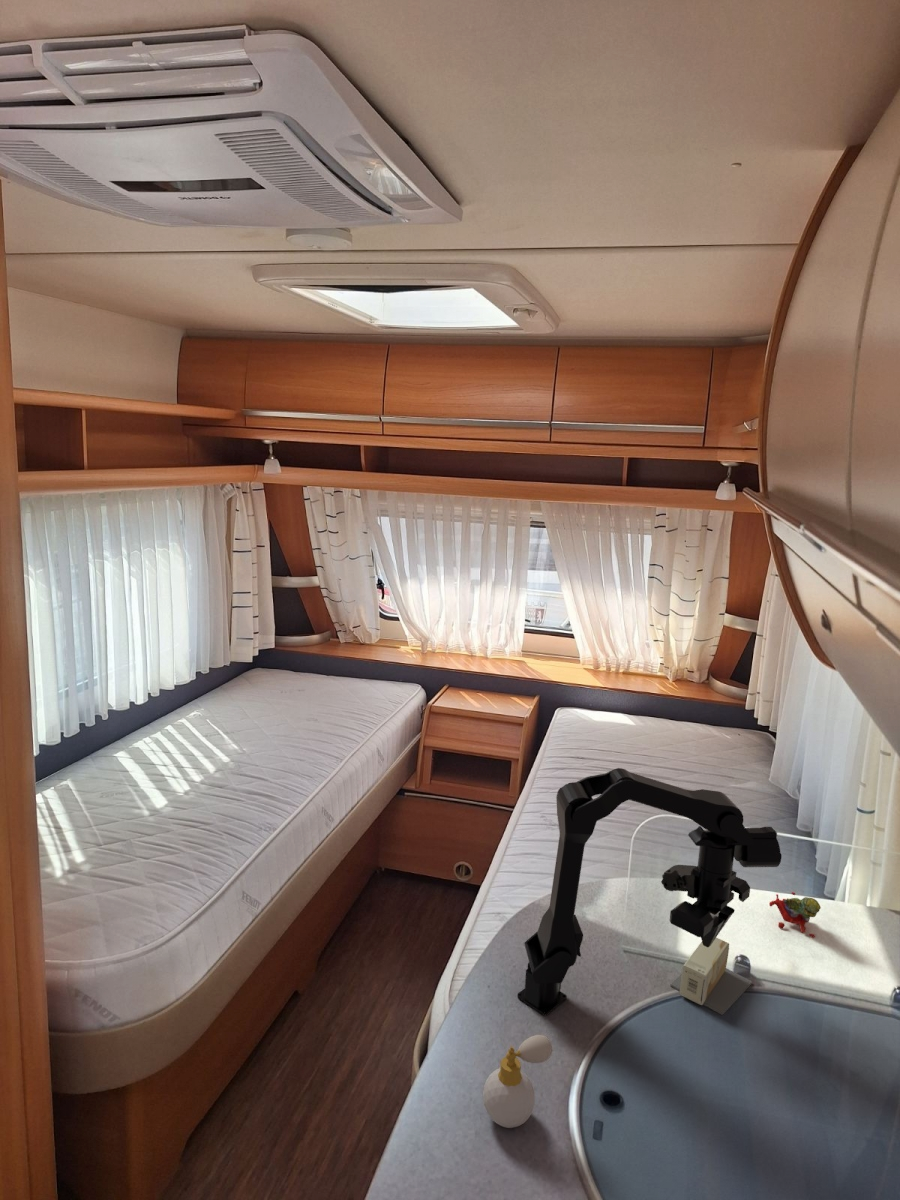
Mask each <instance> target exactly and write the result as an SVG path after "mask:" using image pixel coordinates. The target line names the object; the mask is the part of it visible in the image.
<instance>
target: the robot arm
mask: <svg viewBox="0 0 900 1200" xmlns="http://www.w3.org/2000/svg"><path fill="white" fill-rule="evenodd" d="M598 795H599V796H598ZM595 796H597V797H596V798H593V797H595ZM555 798H556V816H557V823H558V831H559V838H558V843H557V849H556V850H557V852H556V859H555V865H554V873H553V878H552V888H551V894H550V901H549V906H548V908H547V910H546V911H545V913H544V914H543V915H542V917H541V920H540V923H539V927H538V929H537V931H536V932H535V933H534V934H533V935H531V936H529V938H528V939H526V941H524V943H523V944H524V947H525V950H526V951H525V952H526V955H527V959H528V964H527V969H526V970H525V979H524V980H525V981H524V989H521V991H519V992H518V993H517V995H516V996H517V998H518V999H519V1000H521V1001H522V1002H523V1003H525V1004H526V1005H528V1006H529V1007H531V1008H532V1009H533V1010H535V1011H537V1012H538V1013H540V1014H541V1015H543V1016H547V1015H549V1014H550V1013H552V1011H554V1010H555V1009H556V1008H558V1007H559V1006H560V1005H561V1004H563V1003H564V1002H565V1001H567V998H568V996H567V994H566V993H564V992H562V991H561V989H562V983H563V981H564V979H565V977H566V975H567V973H568V971H569V969H570V968H571V967H574V966H575V964H576V961H577V958H578V957H580V958H581V957H582V955H581V946H582V943H583V939H584V934H583V931H582V930H583V929H582V928H581V925H580V923H579V920H578V918H577V916H576V914H575V911H576V906H577V905H576V904H577V899H578V891H579V884H580V879H581V878H580V877H581V872H582V871H581V870H582V865H583V859H584V852H585V846H586V844H587V842H588V840H590V838H591V836H593V834H594V831H595V828H596V825H597V822H598V821H600V820H602V819H604V818H607V817H608V816H609V815H611V814H612V813H613V811H615V810H616V809H617V808H618V807H619V806H620V805H621V804H624V802H627V801H632V802H636V803H637V804H638V803H639V804H641V805H645V806H648V807H652V808H655V809H658V810H661V811H665V812H667V813H670V814H671V813H672V814H675V815H678V816H681V817H685V818H686V819H688V820H691V821H693V822H694V823H696V824H697V825H699V826H698V827H697V828H695V829H693V830H691V831H690V832H688V835H687V836H688V837H689V838H690V840H691V841H692V842H693V843H694V845H695V846H697V847H699V849H698V850H699V851H698V859H697V860H698V861H697V865H689V864H675V865H673V866H671V867H669V868H668V869H666V870H665V871H664V873H663V874H662V875H661V876H662V879H661V883H660V884H661V885H662V886H663V888H664V889H665V891H669V892H677V891H678V892H687V894H686V895H687V897H689V898H691V899H696V901H695V902H694V903H691V902H689V901H687V900H686V901H685V900H684V901H682V902H680V903H679V904H677V905H676V906H675V907H673V909H671V910H670V912H669V913H670V914H669V923H670V924H672V925H673V926H675V927H677V928H679V929H681V930H683V931H685V932H687V933H689V934H691V935H694V936H695V937H697V938H700V939H701V942H702V943H703V945H704V946H706V947H710V946H711V944H712V943H713V941H714V940H715V938H718V936H719V934H720V932H721V931H722V930H723V928H724V927H725V925H726V924H727V923H728V922H729V919H731V917H732V915H733V914H735V909H734V908H733V907H731V906H729V903H731V902H732V901H733V900H734V897H735V893H737V894H738V900H739V902H741V903H744V902H745V901H746V900H747V899H749V898H750V894H751V886H750V885H749V883H748V881H747V880H745V879H742V878H740V877H738V876H737V871H734V870H733V867H734V860H735V861H736V862H738V863H739V864H740V865H741V867H743V868H778V867H779V866H780V864H781V862H782V857H783V856H782V854H781V847H780V846H781V845H780V843H779V841H778V838H777V836H778V832H777V831H776V830H775V829H774V828H773V827H772V826H761V827H745V825H744V824H743V823H744V815H743V812H742V810H741V809H740V808H739V807H737V805H736V804H735V803H734V802H733V801H732V800H731V799H730V798H729V797H728V796H727V795H726V794H725V793H724V792H721V791H718V790H717V791H716V790H711V789H703V788H702V789H695V790H690V789H685V788H681V787H679V786H675V785H672V784H669V783H666V782H664V781H663V782H662V781H659V780H656V779H653V778H649V777H647V776H644V775H640V774H637V773H633V772H631V771H629V770H627V769H625V768H622V767H621V768H619V767H617V768H613V769H612V770H609V771H608V772H605V773H600V774H595V775H589V776H586V777H583V778H582V779H580V780H578V781H575V782H574V781H573V782H569V783H565V784H564V785H563V786H561V787H559V789H558V790H557V793H556V797H555Z"/></svg>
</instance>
